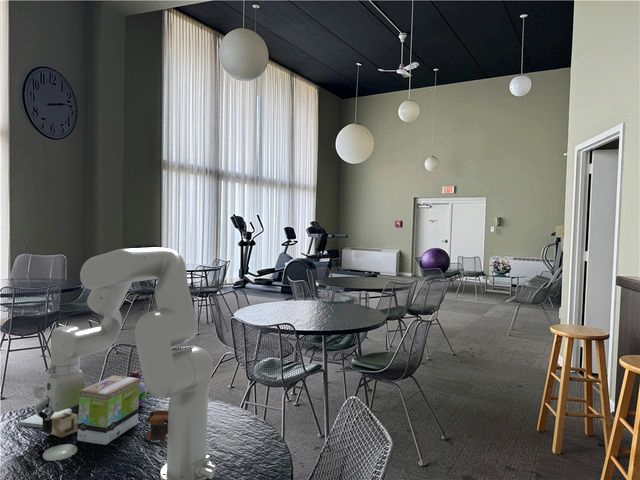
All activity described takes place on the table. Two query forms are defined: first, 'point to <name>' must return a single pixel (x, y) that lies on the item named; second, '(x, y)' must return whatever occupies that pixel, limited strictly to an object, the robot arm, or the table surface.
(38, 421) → the hard drive
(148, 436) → the pottery mug
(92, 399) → the tea box
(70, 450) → the pale green disc
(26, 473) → the table surface
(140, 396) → the potion bottle
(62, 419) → the letter cube
